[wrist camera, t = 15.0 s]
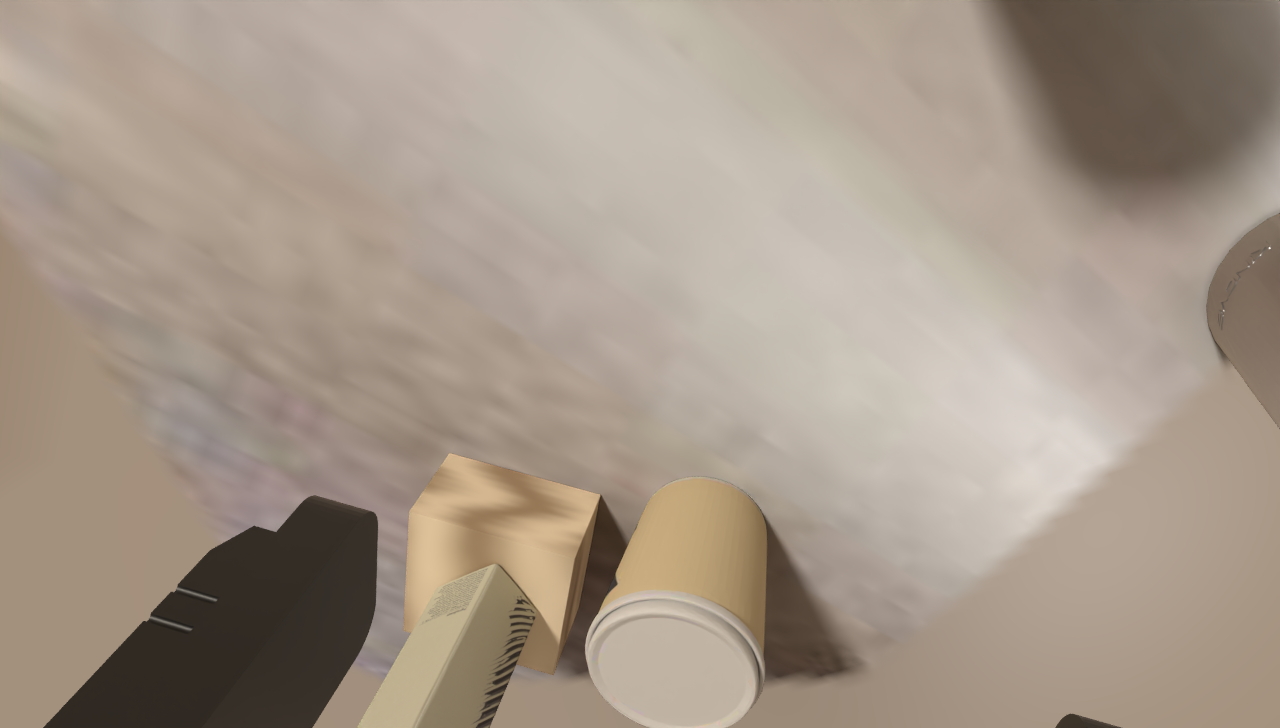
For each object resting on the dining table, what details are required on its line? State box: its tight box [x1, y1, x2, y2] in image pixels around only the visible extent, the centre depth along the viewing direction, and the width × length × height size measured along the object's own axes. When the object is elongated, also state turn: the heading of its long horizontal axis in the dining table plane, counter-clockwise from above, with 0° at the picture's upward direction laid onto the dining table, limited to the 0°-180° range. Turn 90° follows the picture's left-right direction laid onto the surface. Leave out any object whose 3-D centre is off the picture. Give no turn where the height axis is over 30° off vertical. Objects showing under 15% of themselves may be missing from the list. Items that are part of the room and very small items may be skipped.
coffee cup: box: [585, 477, 767, 728], centre depth 50 cm, size 9×9×12 cm
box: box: [357, 564, 537, 728], centre depth 48 cm, size 5×4×13 cm
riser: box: [403, 453, 600, 675], centre depth 57 cm, size 10×10×6 cm
